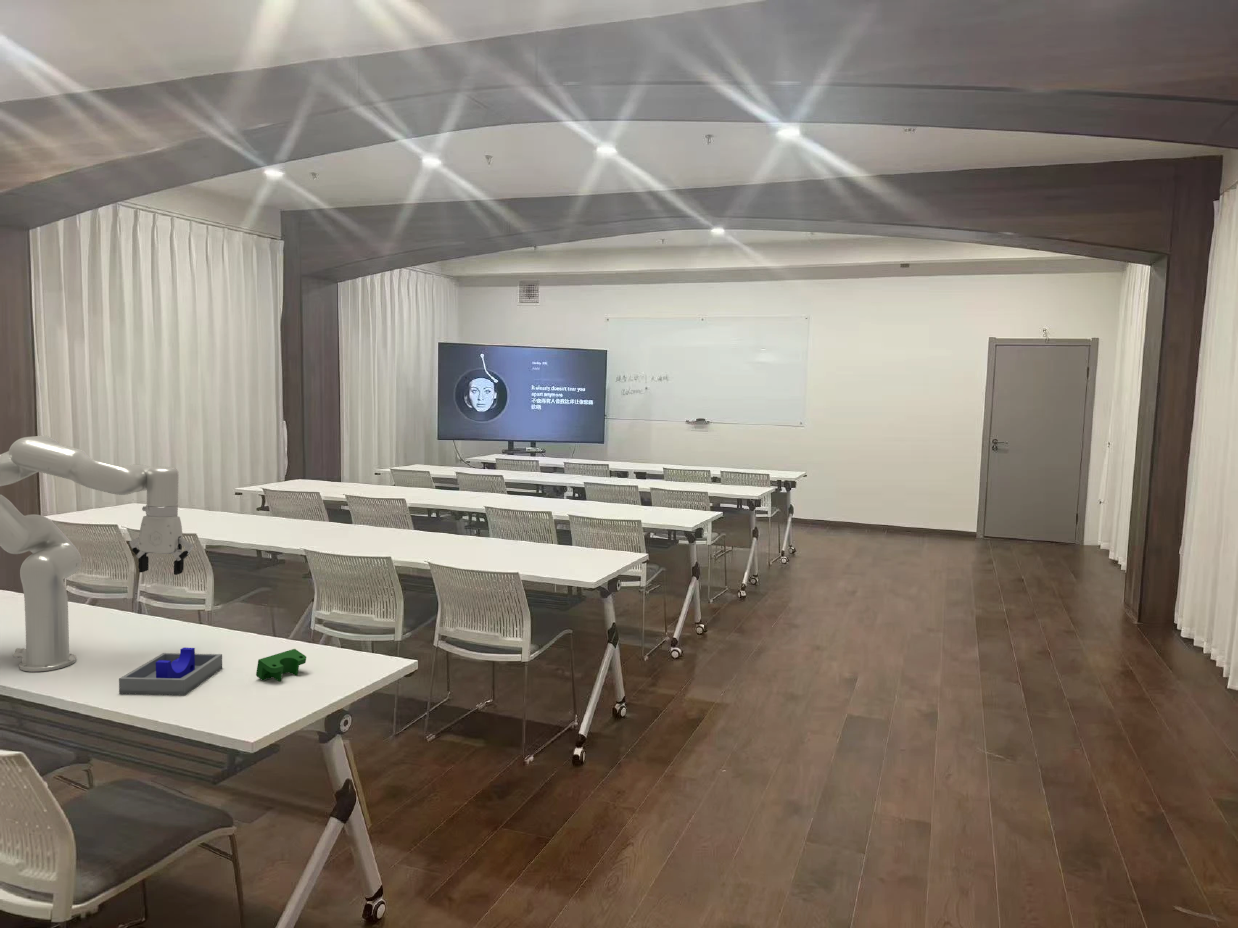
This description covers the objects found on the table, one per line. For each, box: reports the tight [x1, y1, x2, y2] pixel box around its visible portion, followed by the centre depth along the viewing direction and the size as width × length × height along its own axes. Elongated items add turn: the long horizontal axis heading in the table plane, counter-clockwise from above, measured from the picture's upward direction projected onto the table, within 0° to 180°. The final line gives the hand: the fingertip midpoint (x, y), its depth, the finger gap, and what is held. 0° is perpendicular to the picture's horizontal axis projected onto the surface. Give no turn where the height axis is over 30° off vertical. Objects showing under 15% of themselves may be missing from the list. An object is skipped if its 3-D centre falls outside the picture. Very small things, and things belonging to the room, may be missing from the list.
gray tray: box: [118, 652, 223, 697], centre depth 207 cm, size 16×20×4 cm
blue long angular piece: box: [156, 647, 196, 678], centre depth 207 cm, size 12×4×6 cm, turn 178°
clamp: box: [255, 648, 307, 682], centre depth 213 cm, size 12×6×9 cm, turn 144°
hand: (160, 572), depth 219 cm, fingers open, 9 cm apart
